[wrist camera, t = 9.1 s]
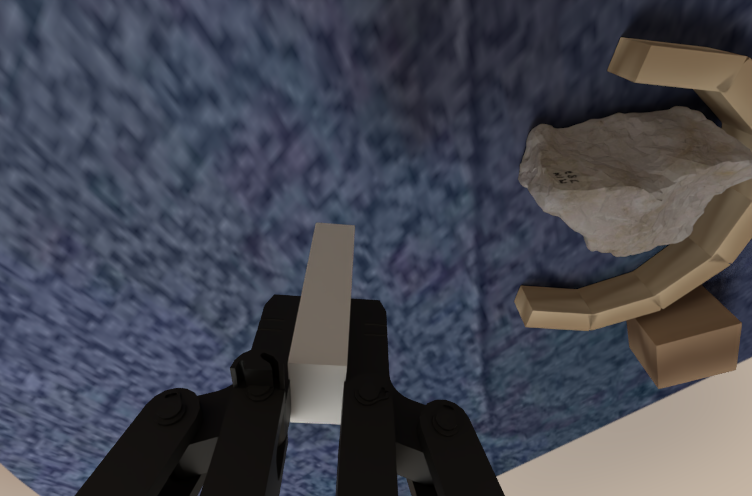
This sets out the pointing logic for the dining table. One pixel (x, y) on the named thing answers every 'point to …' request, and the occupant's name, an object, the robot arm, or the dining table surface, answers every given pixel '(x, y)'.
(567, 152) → the stone
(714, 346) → the walnut block
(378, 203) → the dining table surface
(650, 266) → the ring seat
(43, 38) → the dining table surface
